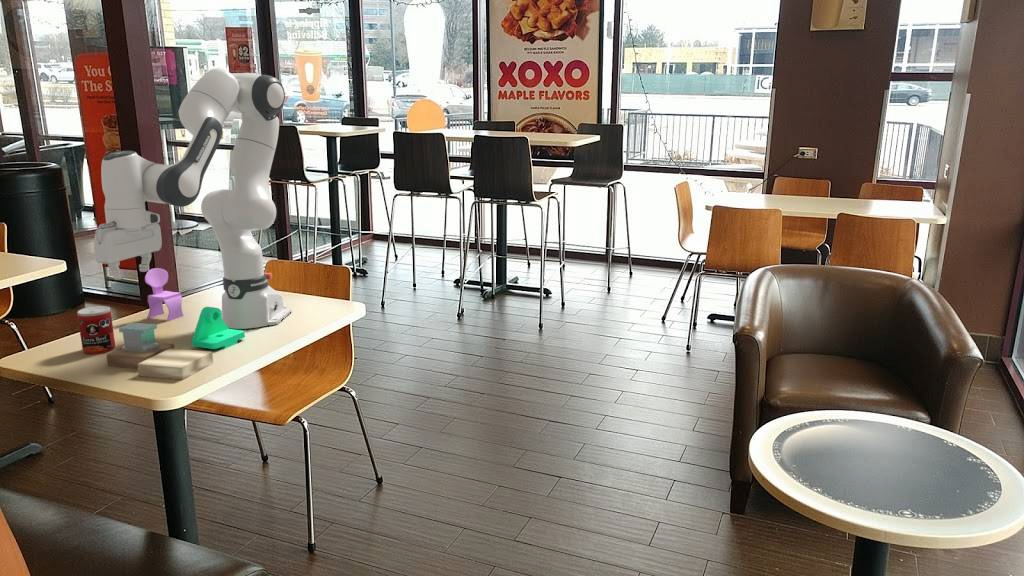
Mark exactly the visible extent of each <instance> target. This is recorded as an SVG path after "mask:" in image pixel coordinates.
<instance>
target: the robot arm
mask: <svg viewBox="0 0 1024 576" xmlns="http://www.w3.org/2000/svg"><path fill="white" fill-rule="evenodd" d="M285 98H286V92H285V88H284V86H283V83H282V82H281V80H279V79H278V78H276V77H274V76H272V75H267V74H259V73H254V72H243V73H242V72H237V73H236V72H235V73H233V72H229V71H227V70H226V69H222V68H219V67H218V68H211V69H210V70H208V71H207V72H206V73H205V74H203V75H202V76H201V77H199V79H198V80H197V82H195V84H194V85H193V86H192V87H191V89H190V90H189V91H188V93H187V94H186V96H185V97H184V98H183V100H182V101H181V103H180V106H179V109H178V117H179V119H180V123H181V125H182V126H183V127H184V129H186V131H188V132H189V133H190V134H191V135H192V139H191V140H190V142H189V144H188V146H187V149H186V150H185V151H184V154H183V155H182V157H181V159H180V160H179V161H177V162H174V163H172V164H163V163H162V164H161V163H155V162H154V161H150V160H148V159H146V158H144V157H142V156H140V155H138V153H137V152H136V151H133V150H120V151H119V150H118V151H114V152H110V153H108V154H106V155H104V157H103V159H102V160H101V167H100V170H101V172H100V173H101V175H100V177H101V187H102V192H103V195H104V198H105V201H104V215H105V223H101V224H99V225H98V227H97V228H96V230H95V234H94V240H93V242H94V243H93V252H94V253H93V254H94V260H95V261H96V263H98V264H104V265H106V264H107V266H108V268H109V269H110V271H111V272H112V277H113V279H114V280H115V281H116V280H122V279H124V278H125V276H124V271H122V270H121V269H120V267H119V266H120V265H121V263H120V261H125V260H129V259H132V258H136V257H139V256H140V257H141V262H140V263H141V264H139V265H138V267H139V268H138V269H139V272H141V273H145V272H146V273H147V272H148V271H149V270H150V263H151V260H152V258H153V257H152V253H155V252H159V251H160V250H161V248H162V246H163V245H162V244H163V241H162V238H163V237H162V231H161V229H162V228H161V226H160V224H159V223H160V222H161V217H160V216H161V215H160V214H158V213H155V212H152V211H149V210H146V204H145V203H146V202H150V203H156V204H164V205H165V204H167V205H170V206H174V207H178V208H179V207H181V208H182V207H188V206H189V205H191V204H193V203H194V202H195V201H196V200H197V198H198V197H199V194H200V192H201V188H202V184H203V180H204V177H205V173H207V170H208V168H209V165H210V164H211V162H212V160H213V157H214V155H215V153H216V151H217V149H218V147H219V144H220V142H221V140H222V137H223V126H224V123H225V121H226V120H227V118H228V116H229V115H230V113H231V112H235V113H237V114H238V113H240V114H241V125H240V127H239V129H238V131H237V136H236V139H235V142H234V145H233V149H232V154H231V158H230V160H229V167H230V170H231V172H232V173H233V176H234V187H233V189H228V188H227V189H225V188H224V189H218V190H213V191H210V192H209V193H207V194H206V195H205V196H204V197H203V199H202V201H201V204H200V210H201V214H202V216H203V218H204V219H205V220H206V221H207V222H208V224H209V225H210V226H211V228H212V231H213V233H214V236H215V237H216V240H217V242H218V246H219V249H220V252H221V253H220V255H221V260H222V268H223V277H222V286H223V290H224V292H223V293H222V296H221V312H222V320H223V321H224V323H225V324H226V326H227V327H228V328H229V329H234V330H243V329H244V330H247V329H253V328H254V329H256V328H262V327H267V326H268V325H269V326H275V324H276V325H278V324H280V323H281V322H282V321H283V320H284V319H285V318H287V317H288V316H289V315H290V314H291V313H292V312H293V311H292V308H291V307H285V306H284V301H283V296H282V294H281V293H280V292H279V291H277V290H276V289H274V288H273V287H271V286H270V284H269V281H271V280H272V279H273V274H272V272H269V273H268V272H265V269H264V258H263V257H264V256H263V249H262V247H261V245H260V244H259V243H258V242H257V241H256V240H255V238H254V236H253V234H252V232H256V231H261V230H265V229H266V230H267V229H268V228H270V227H271V226H272V225H273V224H274V223H275V220H276V218H277V207H276V204H275V202H274V201H273V199H272V197H271V194H270V184H269V183H270V174H271V169H272V165H273V161H274V156H275V153H276V150H277V149H276V148H277V145H278V139H279V131H280V119H279V117H278V116H279V115H280V113H281V110H282V108H283V107H284V104H285V100H286V99H285ZM291 311H292V312H291ZM290 312H291V313H290ZM289 313H290V314H289ZM288 314H289V315H288ZM287 315H288V316H287ZM284 317H285V318H284ZM283 318H284V319H283ZM282 319H283V320H282ZM281 320H282V321H281ZM280 321H281V322H280Z"/></svg>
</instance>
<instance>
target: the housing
mask: <svg viewBox="0 0 1024 576" xmlns="http://www.w3.org/2000/svg"><path fill="white" fill-rule="evenodd" d="M157 325H158V324H156V323H141V322H131V323H128V324H126V325H124V326H122V327H119V328H118V333H122V337H123V343H124V344H123V346H122V347H120V348H121V349H122V351H125V352H138V353H147V352H150V351H152V350H154V349H156V348H158V347H159V343H160V342H156V336H155V330H156V329H157V328H158V326H157Z"/></svg>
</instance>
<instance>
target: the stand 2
mask: <svg viewBox="0 0 1024 576" xmlns="http://www.w3.org/2000/svg"><path fill="white" fill-rule="evenodd" d="M213 357H214V356H213V351H209V350H196V349H194V350H193V349H183V348H182V349H181V348H180V349H179V348H174V349H168V350H166V351H164V352H162V353H160V354H158V355H155V356H153V357H151V358H149V359H147V360H145V361H143V362H141V363H139V364H138V368H137V370H138V376H140V377H146V376H148V377H149V378H158V379H159V378H160V379H169V378H170V379H173V380H182V381H183V380H185V379H187V378H189V377H191V376H192V375H195V374H196V373H198V372H200V371H201V370H203V369H205V368H208V367H209V366H210V365H212V364H214V358H213Z"/></svg>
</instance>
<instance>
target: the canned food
mask: <svg viewBox="0 0 1024 576" xmlns="http://www.w3.org/2000/svg"><path fill="white" fill-rule="evenodd" d="M76 315H77V321H78V327H79V328H78V330H79V335H80V341H81V348H82V352H83V353H85V354H86V355H99V354H106V353H110V351H111V352H112V351H114V349H115V347H116V342H115V341H116V340H115V334H114V333H115V332H114V325H113V318H112V317H113V316H112V311H111V307H110V306H106V305H105V306H104V305H97V306H94V305H93V306H88V307H84V308H81V309H78V310H77V313H76Z"/></svg>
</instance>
